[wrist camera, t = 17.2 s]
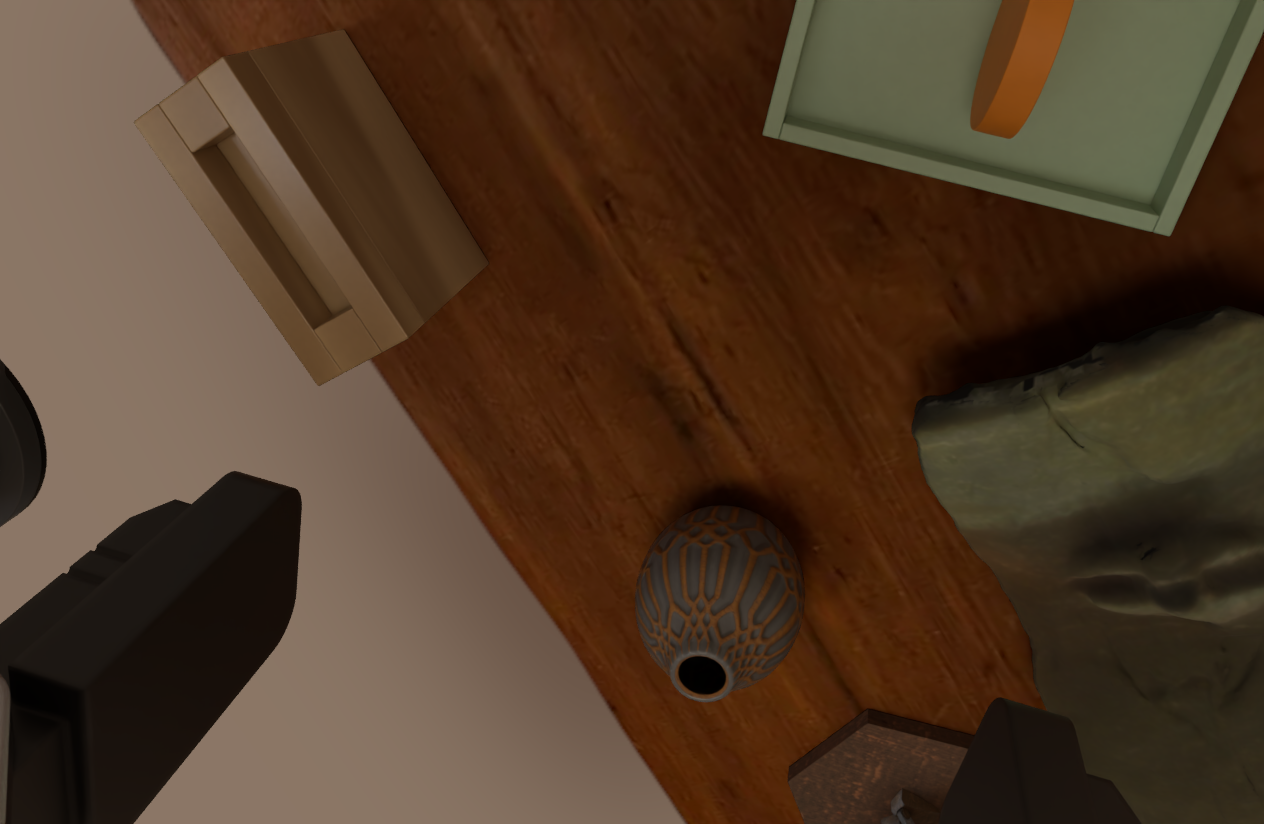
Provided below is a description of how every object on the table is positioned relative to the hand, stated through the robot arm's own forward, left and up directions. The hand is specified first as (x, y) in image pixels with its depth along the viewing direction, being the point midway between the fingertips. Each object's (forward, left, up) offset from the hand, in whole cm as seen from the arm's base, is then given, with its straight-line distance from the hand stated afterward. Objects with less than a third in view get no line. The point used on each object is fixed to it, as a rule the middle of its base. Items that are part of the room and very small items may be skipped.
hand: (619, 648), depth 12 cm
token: (+6, +5, -27) cm, 28 cm away
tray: (+6, +6, -30) cm, 31 cm away
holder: (-16, -5, -30) cm, 34 cm away
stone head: (+22, -12, -30) cm, 39 cm away
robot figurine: (+13, -29, -30) cm, 44 cm away
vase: (+2, -18, -30) cm, 35 cm away
